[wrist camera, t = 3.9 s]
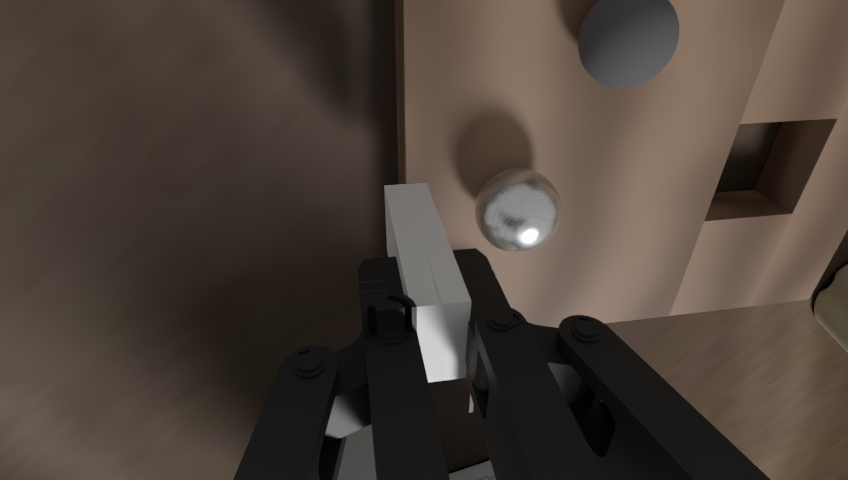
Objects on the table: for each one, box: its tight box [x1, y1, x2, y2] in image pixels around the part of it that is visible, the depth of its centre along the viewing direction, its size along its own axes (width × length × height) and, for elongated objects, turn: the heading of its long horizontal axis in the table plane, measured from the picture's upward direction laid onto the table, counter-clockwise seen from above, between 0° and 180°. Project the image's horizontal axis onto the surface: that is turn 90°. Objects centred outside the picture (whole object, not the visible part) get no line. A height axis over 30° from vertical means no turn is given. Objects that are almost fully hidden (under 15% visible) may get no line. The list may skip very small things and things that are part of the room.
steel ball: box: [475, 168, 562, 253], centre depth 19 cm, size 3×3×3 cm
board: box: [394, 0, 848, 328], centre depth 22 cm, size 22×16×2 cm
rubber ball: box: [578, 0, 679, 88], centre depth 16 cm, size 3×3×3 cm
